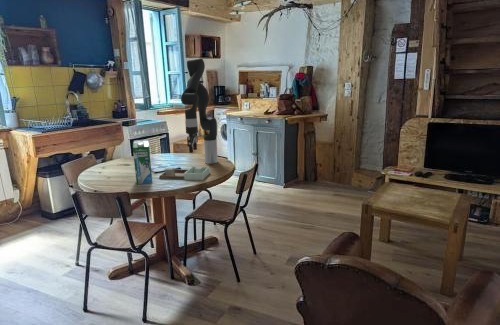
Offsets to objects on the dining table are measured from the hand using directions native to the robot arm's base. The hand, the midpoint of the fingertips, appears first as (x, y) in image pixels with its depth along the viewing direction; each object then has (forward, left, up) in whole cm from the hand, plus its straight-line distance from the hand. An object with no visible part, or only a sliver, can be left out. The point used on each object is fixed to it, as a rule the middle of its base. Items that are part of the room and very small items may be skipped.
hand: (193, 151), depth 221 cm
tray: (+2, -12, -16) cm, 20 cm away
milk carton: (+16, -27, -16) cm, 35 cm away
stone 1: (+2, -16, -16) cm, 22 cm away
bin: (+3, +3, -16) cm, 17 cm away
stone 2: (-1, +3, -16) cm, 16 cm away
